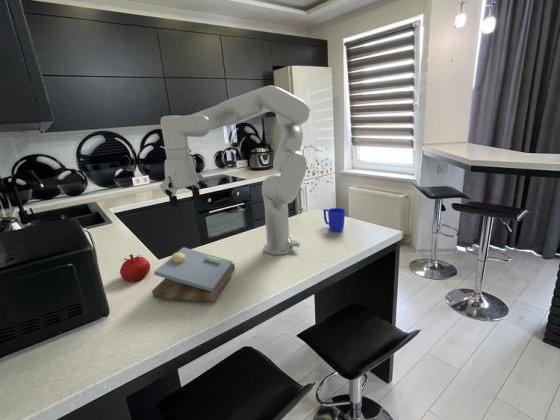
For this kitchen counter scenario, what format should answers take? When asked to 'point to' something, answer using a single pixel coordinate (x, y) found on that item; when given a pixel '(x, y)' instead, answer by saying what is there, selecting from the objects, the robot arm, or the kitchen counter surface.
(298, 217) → the kitchen counter surface
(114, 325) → the kitchen counter surface
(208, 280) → the plate
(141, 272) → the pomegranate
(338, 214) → the mug
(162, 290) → the wooden board
